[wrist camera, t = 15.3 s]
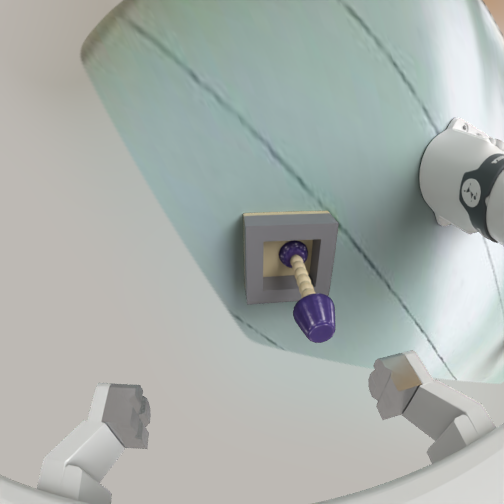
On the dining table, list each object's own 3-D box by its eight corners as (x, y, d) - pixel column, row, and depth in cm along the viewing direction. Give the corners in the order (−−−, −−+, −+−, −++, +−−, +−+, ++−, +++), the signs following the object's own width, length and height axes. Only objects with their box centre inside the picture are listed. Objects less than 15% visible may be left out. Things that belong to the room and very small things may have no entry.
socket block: (327, 210, 42) (338, 223, 39) (319, 281, 48) (328, 298, 44) (243, 213, 41) (245, 226, 38) (244, 286, 47) (247, 304, 43)
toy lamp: (291, 273, 46) (321, 354, 31) (268, 257, 44) (291, 339, 29) (313, 250, 44) (354, 326, 30) (290, 232, 42) (325, 307, 28)
